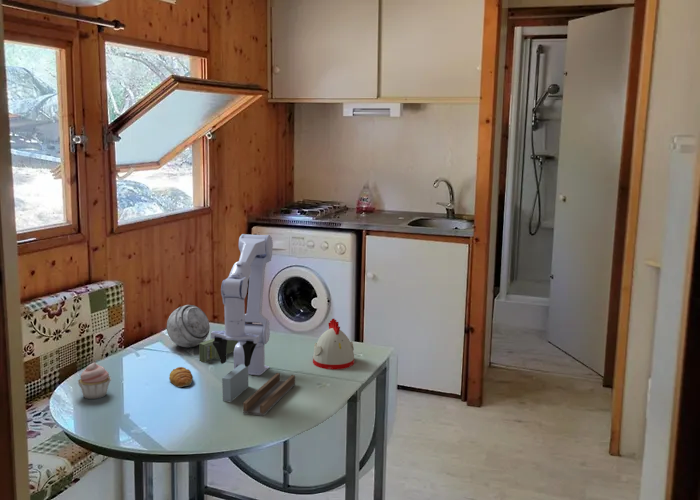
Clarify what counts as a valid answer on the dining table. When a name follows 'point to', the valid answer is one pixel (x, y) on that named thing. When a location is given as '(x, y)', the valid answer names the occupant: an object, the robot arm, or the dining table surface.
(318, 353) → the kitchen timer
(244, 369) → the door panel
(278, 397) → the floor track
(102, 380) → the cupcake
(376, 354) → the dining table surface
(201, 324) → the decorative orb
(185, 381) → the pastry
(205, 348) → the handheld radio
